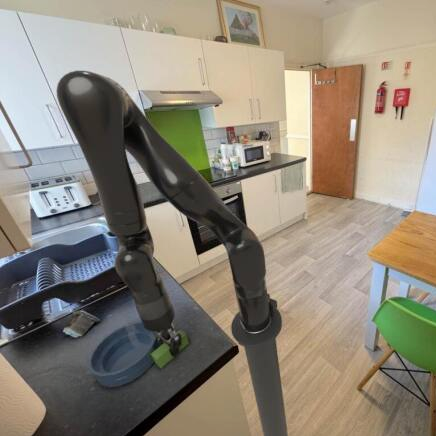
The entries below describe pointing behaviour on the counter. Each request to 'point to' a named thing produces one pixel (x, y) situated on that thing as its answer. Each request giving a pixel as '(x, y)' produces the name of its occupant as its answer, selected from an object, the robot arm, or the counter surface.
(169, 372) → the counter surface
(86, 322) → the crumpled grey bag
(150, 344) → the bowl
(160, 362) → the bar
